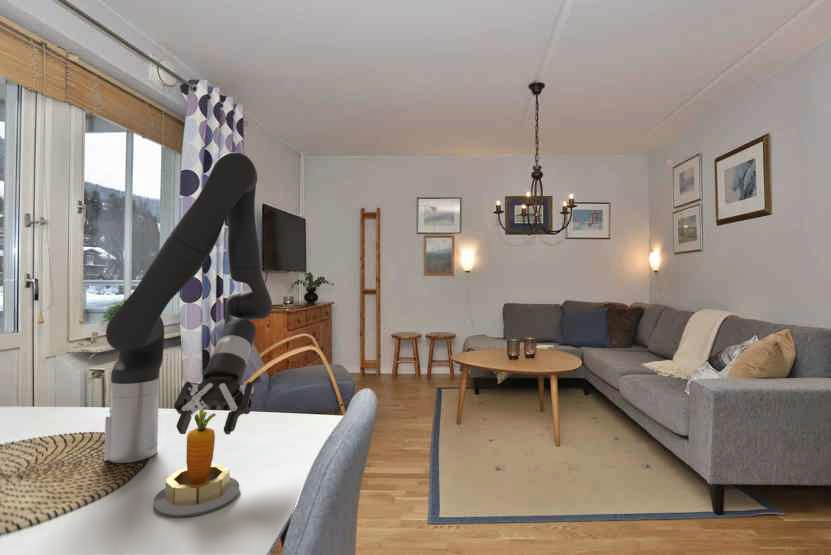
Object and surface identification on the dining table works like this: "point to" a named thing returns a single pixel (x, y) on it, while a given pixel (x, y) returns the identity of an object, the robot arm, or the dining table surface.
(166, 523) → the dining table surface
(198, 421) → the carrot
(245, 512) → the dining table surface
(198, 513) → the hub socket
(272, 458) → the dining table surface
